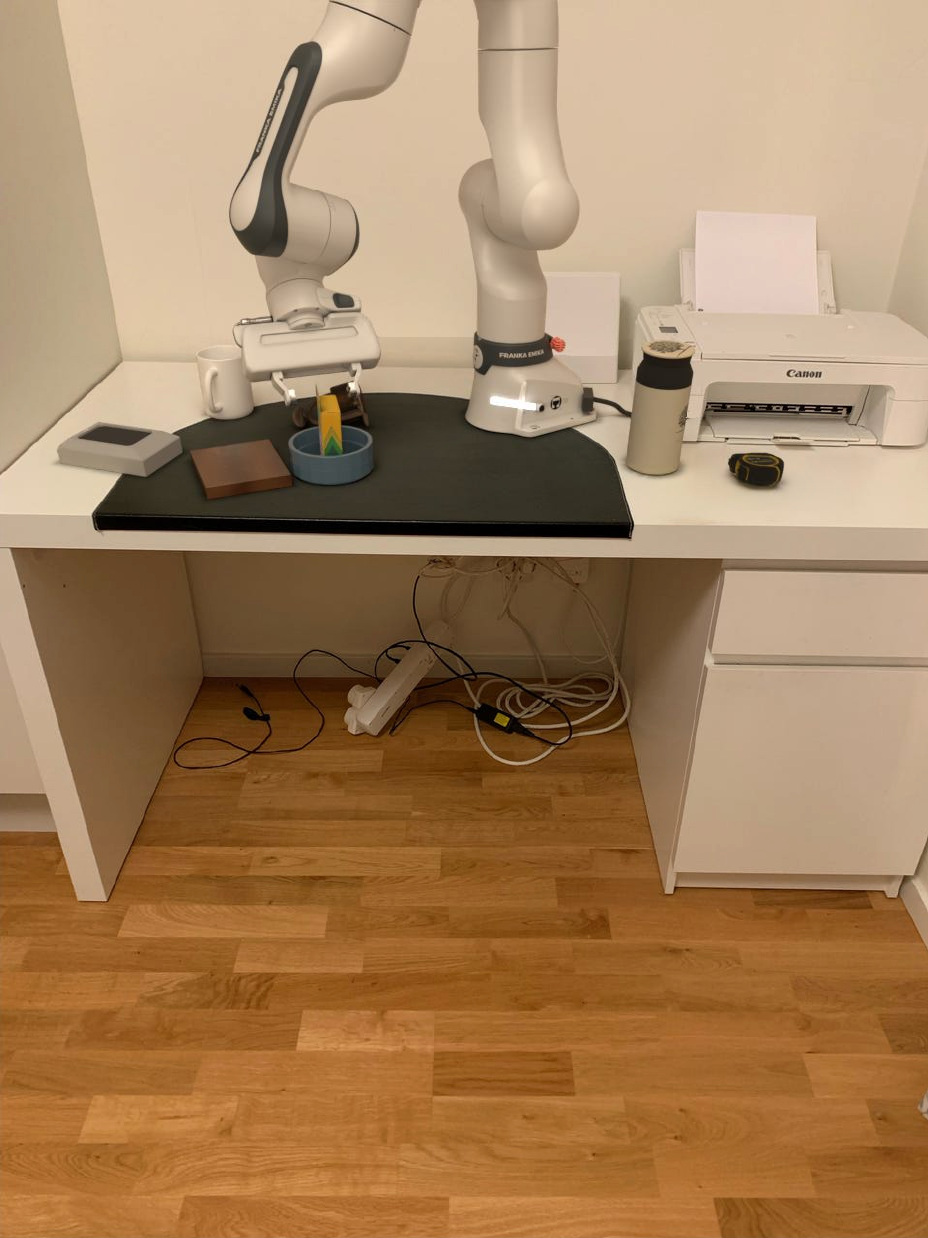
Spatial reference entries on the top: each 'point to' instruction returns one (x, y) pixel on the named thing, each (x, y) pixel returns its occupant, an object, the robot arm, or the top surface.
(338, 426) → the crayon box
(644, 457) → the travel mug
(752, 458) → the tape measure
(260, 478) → the board
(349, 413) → the brown roll holder
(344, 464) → the bowl
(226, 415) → the cup
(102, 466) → the grey bevelled block
